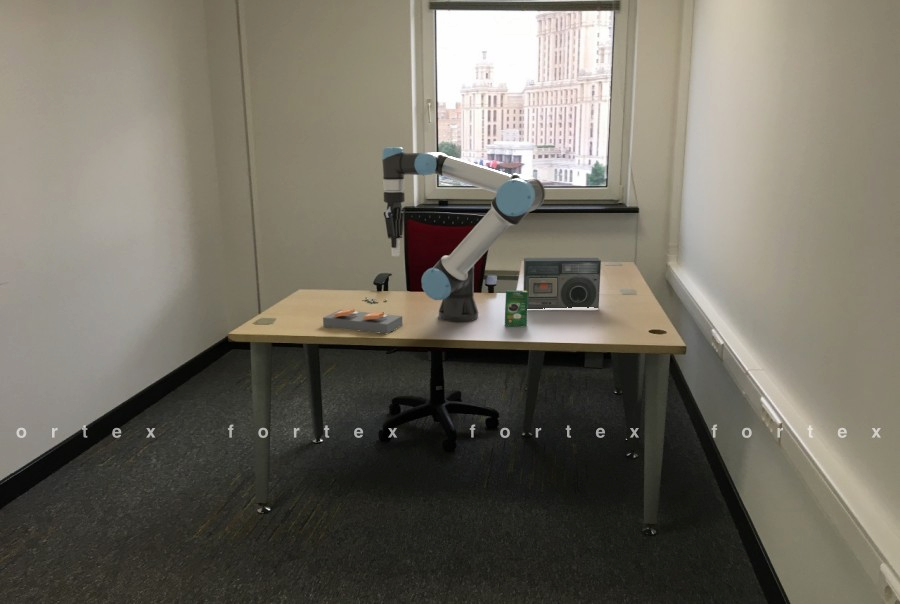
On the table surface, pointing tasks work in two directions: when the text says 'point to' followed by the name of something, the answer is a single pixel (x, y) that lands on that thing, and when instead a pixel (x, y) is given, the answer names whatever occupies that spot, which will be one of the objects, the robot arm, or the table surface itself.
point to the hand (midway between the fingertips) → (395, 255)
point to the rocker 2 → (373, 315)
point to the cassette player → (562, 282)
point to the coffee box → (516, 308)
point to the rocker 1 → (344, 312)
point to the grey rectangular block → (363, 322)
